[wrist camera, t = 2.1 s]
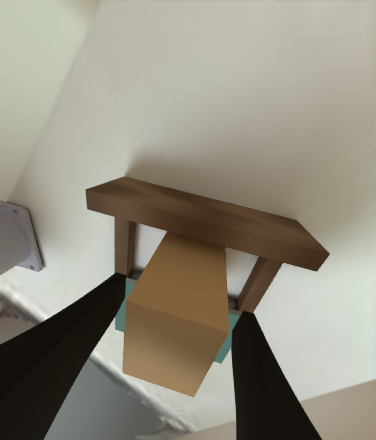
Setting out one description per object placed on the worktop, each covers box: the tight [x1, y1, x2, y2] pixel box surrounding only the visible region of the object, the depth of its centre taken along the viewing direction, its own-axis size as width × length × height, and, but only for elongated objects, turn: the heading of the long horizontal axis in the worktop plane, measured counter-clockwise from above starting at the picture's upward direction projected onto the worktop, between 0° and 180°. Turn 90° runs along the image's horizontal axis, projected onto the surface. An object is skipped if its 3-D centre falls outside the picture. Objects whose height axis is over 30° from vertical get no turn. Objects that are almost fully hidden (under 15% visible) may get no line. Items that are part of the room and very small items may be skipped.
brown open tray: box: [86, 177, 330, 316], centre depth 13 cm, size 13×10×4 cm
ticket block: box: [122, 231, 229, 397], centre depth 11 cm, size 4×6×8 cm, turn 168°
